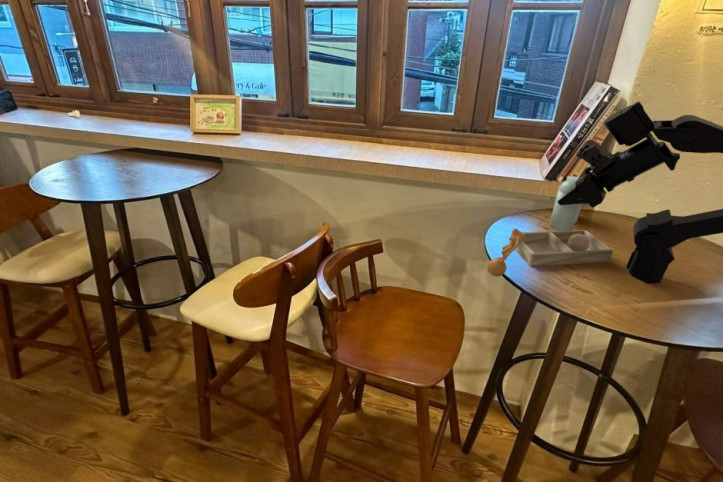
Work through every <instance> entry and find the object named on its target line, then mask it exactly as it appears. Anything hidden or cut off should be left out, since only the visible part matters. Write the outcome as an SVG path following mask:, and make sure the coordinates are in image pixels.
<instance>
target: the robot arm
mask: <svg viewBox="0 0 723 482" xmlns="http://www.w3.org/2000/svg"><path fill="white" fill-rule="evenodd" d="M602 124H603V125H604V126H605V128H606V129H607V131H608V132H609V133H610V134H611V136H612V137H613V139H614V140H615V141H616V142H617V144H618V145H619V146H623V145H625V147H629V148H627V149H625V150H623V151H617V152H614V153H612V152H610V151H609V150H608V149H607V148H605V147H604V146H602V145H600V144H599V143H597V142H595V141H594V140H592V139H590V138H589V139H588V140H587V141H585V143H584V144H583V145H582V146H581V147H580V149H578V150H577V152H576V153H575V156H576V157H577V158H579V160H583V161H585V162H586V164H589V165H590V166H591V167H592V168H591V167H590V166H588V167H587V168H586V169H585V172H584V174H583V175H582V176H578V177H579V178H578V179H577V181H576V182H575V184H576V186H575V188H574V189H572V190H571V191H570V192H569V193H567V194H566V195H565V196H563V197H562V198H561V199H560V200H558V204H559V205H571V204H582V205H583V204H586V205H587V204H588V205H589V206H590V207H591V208H592V209H593V208H595V207H597V206H599V205H601V204H602V203H603V202H604V200H605V199H606V195H607V192H608V193H610V192H612V191H614V189H615V188H616V187H618V186H620V185H622V184H624V183H627V182H628V183H630V182H632V181H634V180H635V178H636V177H639V176H640V175H642V174H644V173H646V172H648V171H650V170H652V169H654V168H657V167H659V166H660V165H662V164H664V163H665V165H666V166H667V168H668V169H669V171H674V170H676V166H677V163H678V161H679V160H680V159H681V154H680V153H679V152H683V153H694V154H695V153H696V154H715V153H717V154H723V126H722V125H719V124H718V123H714V122H712V121H710V120H707V119H704V118H703V117H699V116H696V115H693V114H684V115H681V116H679V117H677V118H675V119H672V120H671V119H670V120H669V119H668V120H652V118H651V117H650V116H649V114H648V113H647V111H646V110H645V109H644V106H643V104H642V102H640V101H639V100H637V101H636V102H634V103H633V104H629V105H627V106H626V107H624V108H622V109H618V110H617V111H616V112H614V113H613V114H611V115H609V117H608V118H606V119H605V120H603V122H602ZM651 132H652V133H653V134H654V135H653V134H652V133H651ZM654 136H655V137H656V138H657V139H656V138H655V137H654ZM658 140H659V141H658ZM667 143H669V144H670V146H671V147H672V148H673V149H674V150H676V151H678V152H673V151H672V150H671V149H670V148H669V146H668V145H667ZM630 146H631V147H630ZM580 177H581V178H580ZM645 215H646V216H643V217H640V218H638V219H637V220H636V222H635V223H634V224H633V227H632V228H633V229H632V230H633V231H632V232H633V241H634V245H635V248H634V251H632V252H631V254H630V256H629V259H628V260H627V263H626V266H625V267H626V269H627V271H628V274H629V275H630V276H632V277H633V278H634V279H636V280H638V281H642V282H644V283H645V284H648V285H649V284H660V283H661V282H662V279H663V277H664V276H665V273H666V271H667V270H668V268H669V265H670V264H671V263H672V262H673V261H674V260H675V256H674V251H673V248H675V247H676V246H678V245H680V244H682V243H683V242H686V241H687V240H691V239H695V238H701V237H708V236H713V235H719V234H723V208H720V209H715V210H710V211H705V212H699V213H695V214H690V215H685V216H684V215H683V216H682V215H681V216H680V215H672V213H671V210H670V209H664V210H661V211H659V212H658V211H657V212H654V213H652V212H651V213H649V212H646V214H645Z"/></svg>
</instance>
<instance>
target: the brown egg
mask: <svg viewBox="0 0 723 482" xmlns="http://www.w3.org/2000/svg"><path fill="white" fill-rule="evenodd" d="M568 247H569V248H570V249H571V250H573V251H586V250H587V249H588V247H589V239H588V238H587V237H586V236H585V235H583V234H574V235H572V236H571V237H570V238H569V239H568Z"/></svg>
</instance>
